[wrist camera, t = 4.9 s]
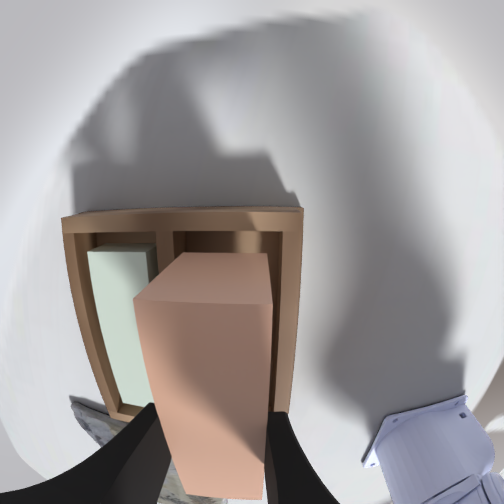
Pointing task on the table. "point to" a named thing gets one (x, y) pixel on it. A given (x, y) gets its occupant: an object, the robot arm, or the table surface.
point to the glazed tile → (123, 311)
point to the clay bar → (211, 367)
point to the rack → (191, 241)
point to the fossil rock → (107, 428)
